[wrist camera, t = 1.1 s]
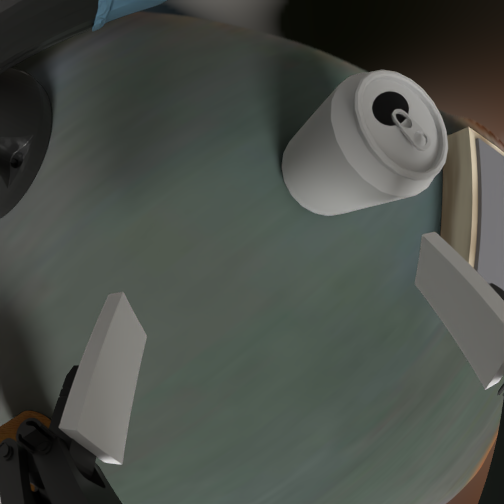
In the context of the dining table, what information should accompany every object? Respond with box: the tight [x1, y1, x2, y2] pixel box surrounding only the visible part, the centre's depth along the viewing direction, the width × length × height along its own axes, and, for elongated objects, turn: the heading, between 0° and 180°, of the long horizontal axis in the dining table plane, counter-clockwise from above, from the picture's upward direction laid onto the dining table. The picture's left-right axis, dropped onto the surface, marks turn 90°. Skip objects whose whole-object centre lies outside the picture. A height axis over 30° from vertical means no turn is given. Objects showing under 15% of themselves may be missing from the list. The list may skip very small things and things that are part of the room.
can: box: [282, 70, 448, 216], centre depth 18 cm, size 8×8×12 cm
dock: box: [440, 127, 504, 291], centre depth 25 cm, size 18×18×5 cm
